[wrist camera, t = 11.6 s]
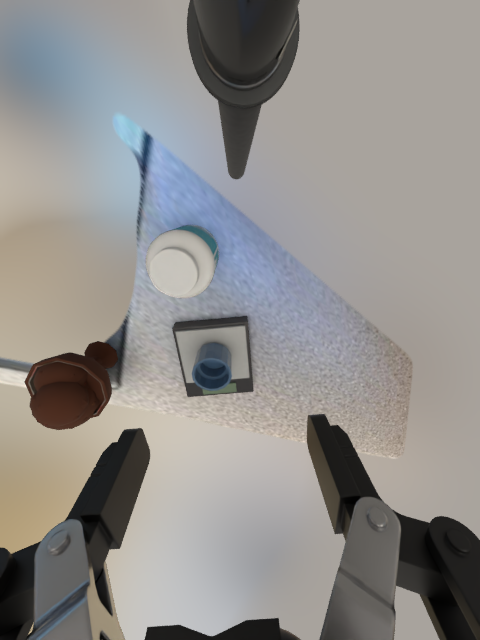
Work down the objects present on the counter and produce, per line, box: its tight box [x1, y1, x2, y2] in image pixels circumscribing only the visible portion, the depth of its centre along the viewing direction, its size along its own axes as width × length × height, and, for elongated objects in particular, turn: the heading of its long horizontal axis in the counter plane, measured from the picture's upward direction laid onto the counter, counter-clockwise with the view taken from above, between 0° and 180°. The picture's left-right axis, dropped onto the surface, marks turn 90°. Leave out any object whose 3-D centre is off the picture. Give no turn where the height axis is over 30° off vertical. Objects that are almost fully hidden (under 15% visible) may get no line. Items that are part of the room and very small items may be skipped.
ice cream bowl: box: [25, 341, 118, 430], centre depth 35 cm, size 11×11×15 cm
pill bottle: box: [146, 225, 219, 298], centre depth 29 cm, size 8×7×14 cm
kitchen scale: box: [172, 316, 253, 397], centre depth 41 cm, size 14×12×3 cm
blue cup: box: [192, 343, 232, 391], centre depth 37 cm, size 6×6×5 cm
